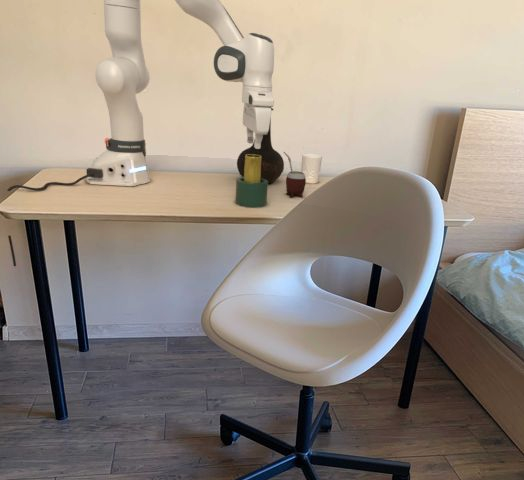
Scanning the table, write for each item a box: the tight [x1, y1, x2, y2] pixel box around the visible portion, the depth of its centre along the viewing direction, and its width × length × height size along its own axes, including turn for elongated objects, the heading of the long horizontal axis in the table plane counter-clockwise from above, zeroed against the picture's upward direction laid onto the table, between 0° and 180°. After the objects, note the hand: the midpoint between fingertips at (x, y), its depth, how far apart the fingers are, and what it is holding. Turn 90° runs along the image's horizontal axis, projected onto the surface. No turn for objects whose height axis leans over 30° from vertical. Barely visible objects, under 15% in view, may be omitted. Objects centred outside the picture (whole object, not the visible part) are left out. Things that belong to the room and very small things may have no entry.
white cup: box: [300, 153, 323, 185], centre depth 202 cm, size 8×8×10 cm
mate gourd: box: [283, 151, 307, 199], centre depth 178 cm, size 8×8×15 cm
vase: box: [244, 154, 261, 183], centre depth 166 cm, size 6×6×14 cm
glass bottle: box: [236, 107, 285, 185], centre depth 192 cm, size 18×18×28 cm
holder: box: [235, 176, 269, 208], centre depth 168 cm, size 10×10×8 cm
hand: (253, 145), depth 160 cm, fingers open, 8 cm apart
